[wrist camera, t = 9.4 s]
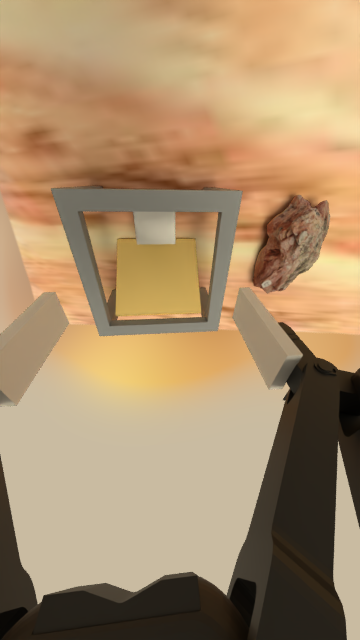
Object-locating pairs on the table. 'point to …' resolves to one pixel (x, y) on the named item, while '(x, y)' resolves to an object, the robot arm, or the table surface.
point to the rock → (291, 244)
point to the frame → (148, 200)
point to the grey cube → (154, 227)
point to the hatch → (157, 278)
